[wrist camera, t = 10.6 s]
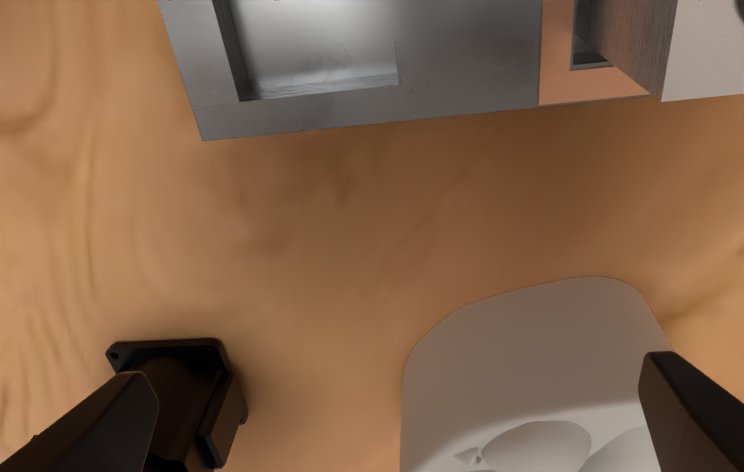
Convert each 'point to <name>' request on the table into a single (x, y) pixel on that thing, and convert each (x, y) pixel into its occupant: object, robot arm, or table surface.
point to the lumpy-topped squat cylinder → (533, 383)
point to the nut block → (670, 44)
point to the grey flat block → (379, 61)
